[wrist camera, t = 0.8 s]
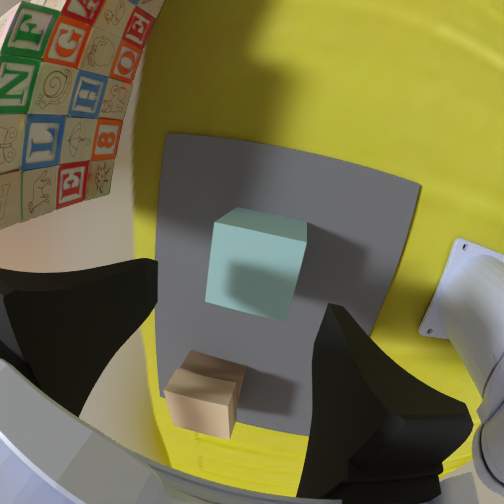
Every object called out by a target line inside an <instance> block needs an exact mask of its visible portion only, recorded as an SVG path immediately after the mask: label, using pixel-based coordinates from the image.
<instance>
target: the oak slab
mask: <svg viewBox="0 0 504 504" xmlns="http://www.w3.org/2000/svg"><path fill="white" fill-rule="evenodd" d="M164 394H165V397H166V401H167V404H168V408H169V411H170V414H171V417H172V421H173V424H174V425H175V426H178V427H181V428H185V429H188V430H192V431H195V432H199V433H203V434H207V435H211V436H215V437H220V438H224V439H229V440H230V437H231V434H232V431H233V428H234V425H235V422H236V419H237V403H236V382H230V381H225V380H220V379H215V378H210V377H206V376H201V375H197V374H192V373H188V372H184V371H180V370H176V371H175V372H174V374H173V375H172V377H171V379H170V380H169V382H168V383H167V385H166V387H165V388H164Z"/></svg>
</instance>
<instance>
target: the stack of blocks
mask: <svg viewBox="0 0 504 504" xmlns="http://www.w3.org/2000/svg"><path fill="white" fill-rule="evenodd" d="M164 1H165V0H32V1H31V2H30V3H29V2H25V1H21V2H20V3H18V4H17V5H16V6H14V7H13V8H12V9H11V10H9V11H8V12H7V13H6V14H4V15H3V16H2V17H1V18H0V230H1V229H3V228H6V227H8V226H11V225H13V224H16V223H19V222H20V223H21V222H25V221H27V220H29V219H31V218H36V217H38V216H40V215H44V214H47V213H50V212H52V211H54V210H57V209H60V208H63V207H66V206H69V205H73V204H75V203H79V202H82V201H84V200H90V199H94V198H98V197H101V196H105V195H108V194H109V193H110V188H111V180H112V174H113V167H114V160H115V157H116V154H117V149H118V143H119V139H120V134H121V130H122V125H123V119H124V116H125V113H126V109H127V105H128V102H129V98H130V94H131V91H132V86H133V84H132V83H133V80H134V77H135V73H136V70H137V67H138V64H139V61H140V58H141V55H142V52H143V48H144V46H145V43H146V41H147V38H148V36H149V33H150V30H151V28H152V26H153V23H154V20H155V19H156V18H157V16H158V14H159V12H160V9H161V7H162V5H163V3H164Z"/></svg>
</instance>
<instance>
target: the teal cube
mask: <svg viewBox="0 0 504 504" xmlns="http://www.w3.org/2000/svg"><path fill="white" fill-rule="evenodd" d="M306 244H307V222H305V221H301V220H296V219H292V218H287V217H283V216H278V215H273V214H269V213H264V212H259V211H255V210H250V209H245V208H240V207H236V208H235V209H233V210H232V211H230V212H229V213H227V214H226V215H224V216H223V217H221V218H220V219H218V220H217V221H215V222H214V229H213V237H212V245H211V253H210V261H209V270H208V279H207V288H206V298H205V302H209V303H212V304H216V305H219V306H223V307H227V308H231V309H234V310H238V311H242V312H246V313H250V314H254V315H258V316H262V317H266V318H270V319H275V320H279V321H283V322H286V320H287V316H288V313H289V309H290V305H291V302H292V298H293V294H294V291H295V287H296V283H297V279H298V276H299V272H300V268H301V264H302V260H303V256H304V252H305V248H306Z"/></svg>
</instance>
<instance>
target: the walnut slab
mask: <svg viewBox="0 0 504 504" xmlns="http://www.w3.org/2000/svg"><path fill="white" fill-rule="evenodd" d="M246 369H247V366H246V365H242V364H238V363H234V362H231V361H227V360H224V359H220V358H217V357H213V356H210V355H207V354H204V353H200V352H197V351H194V350H191V351H190V352H189V354H188V355H187V357H186V359H185V360H184V362H183V364H182V365H181V367H180V371H184V372H188V373H192V374H197V375H201V376H206V377H210V378H215V379H220V380H225V381H230V382H236V403H237V405H238V402H239V398H240V394H241V390H242V386H243V382H244V377H245V373H246Z"/></svg>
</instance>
